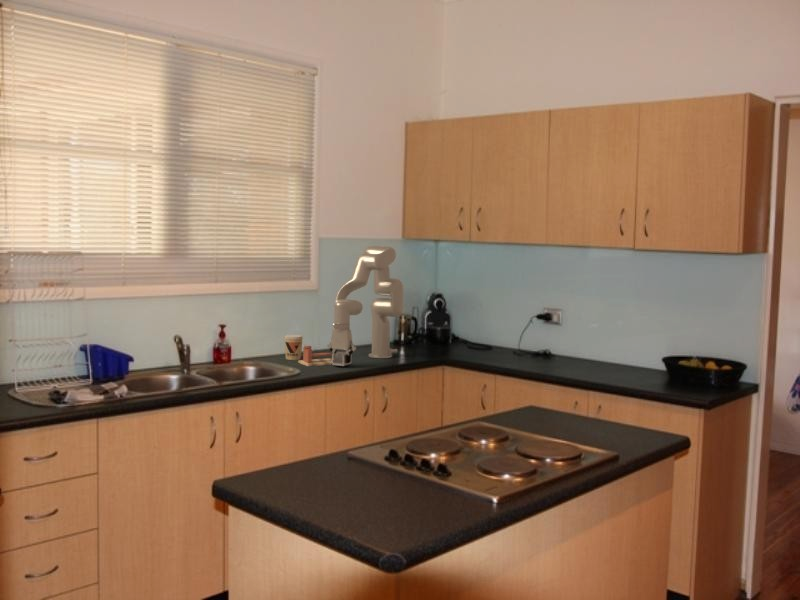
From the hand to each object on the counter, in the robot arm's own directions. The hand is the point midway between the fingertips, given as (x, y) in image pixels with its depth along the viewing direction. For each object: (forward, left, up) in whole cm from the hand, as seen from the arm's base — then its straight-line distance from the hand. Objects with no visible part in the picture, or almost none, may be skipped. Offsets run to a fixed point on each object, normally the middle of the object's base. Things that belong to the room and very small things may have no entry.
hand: (341, 361), depth 412 cm
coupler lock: (0, 0, -1) cm, 1 cm away
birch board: (+4, -12, -2) cm, 13 cm away
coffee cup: (+14, -29, -2) cm, 32 cm away
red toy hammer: (+8, -12, -1) cm, 14 cm away
